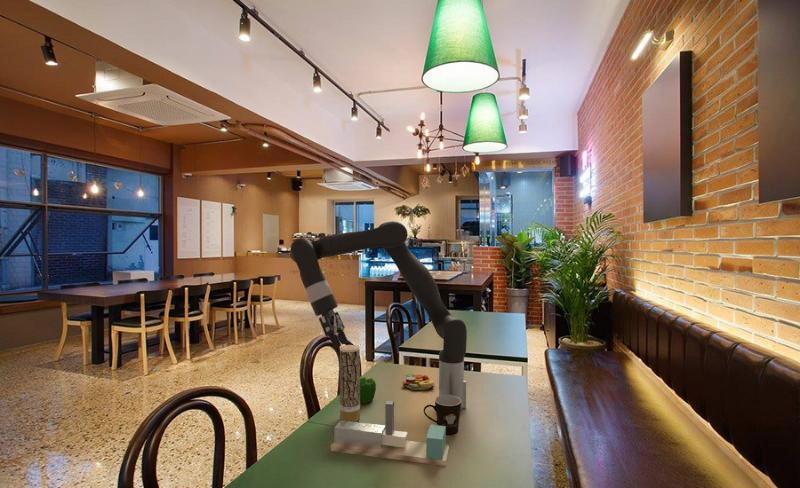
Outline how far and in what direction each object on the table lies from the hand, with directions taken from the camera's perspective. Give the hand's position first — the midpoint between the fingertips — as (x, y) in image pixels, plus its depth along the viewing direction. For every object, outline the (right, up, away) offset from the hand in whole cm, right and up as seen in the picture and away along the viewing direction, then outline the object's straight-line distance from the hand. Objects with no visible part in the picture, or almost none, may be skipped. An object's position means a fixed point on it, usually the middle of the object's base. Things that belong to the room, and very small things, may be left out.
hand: (341, 345), depth 123 cm
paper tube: (+1, -29, +13) cm, 32 cm away
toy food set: (+26, -29, +44) cm, 59 cm away
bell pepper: (+5, -29, +28) cm, 41 cm away
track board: (+15, -29, -7) cm, 34 cm away
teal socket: (+29, -28, -10) cm, 41 cm away
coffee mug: (+32, -29, +5) cm, 44 cm away
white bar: (+11, -27, -6) cm, 30 cm away
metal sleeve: (+6, -28, -5) cm, 29 cm away
